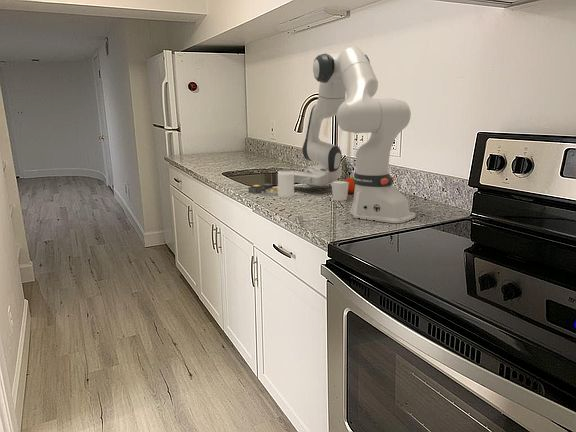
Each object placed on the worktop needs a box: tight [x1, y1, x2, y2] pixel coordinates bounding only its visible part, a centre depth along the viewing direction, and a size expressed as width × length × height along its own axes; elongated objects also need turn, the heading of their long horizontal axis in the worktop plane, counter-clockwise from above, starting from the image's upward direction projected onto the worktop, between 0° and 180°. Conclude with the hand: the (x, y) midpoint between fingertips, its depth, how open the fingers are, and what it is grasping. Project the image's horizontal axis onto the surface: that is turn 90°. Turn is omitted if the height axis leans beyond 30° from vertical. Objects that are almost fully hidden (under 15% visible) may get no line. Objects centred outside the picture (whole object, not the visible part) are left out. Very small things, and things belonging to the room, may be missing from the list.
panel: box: [247, 183, 278, 198], centre depth 192 cm, size 14×12×4 cm
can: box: [277, 168, 295, 199], centre depth 183 cm, size 6×6×12 cm
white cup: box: [331, 180, 349, 202], centre depth 182 cm, size 7×7×7 cm
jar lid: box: [265, 187, 278, 196], centre depth 192 cm, size 9×9×1 cm
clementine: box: [344, 176, 355, 194], centre depth 193 cm, size 8×7×7 cm
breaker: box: [250, 184, 262, 188], centre depth 193 cm, size 4×3×2 cm
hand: (291, 180), depth 187 cm, fingers open, 8 cm apart
